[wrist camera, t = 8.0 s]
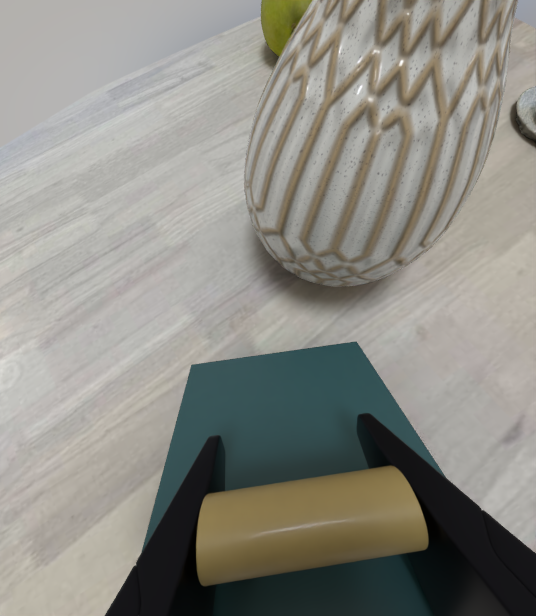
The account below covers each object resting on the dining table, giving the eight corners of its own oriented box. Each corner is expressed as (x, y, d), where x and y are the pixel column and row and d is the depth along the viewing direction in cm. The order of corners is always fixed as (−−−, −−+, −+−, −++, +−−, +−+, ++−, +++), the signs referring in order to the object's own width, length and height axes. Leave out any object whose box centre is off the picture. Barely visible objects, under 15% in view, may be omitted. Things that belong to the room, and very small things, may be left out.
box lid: (526, 626, 6) (643, 590, 4) (116, 697, 6) (-1, 700, 4) (355, 350, 15) (362, 294, 13) (194, 373, 15) (174, 320, 13)
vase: (222, 243, 26) (74, -167, 6) (315, 160, 29) (396, -269, 10) (338, 341, 22) (766, 74, 3) (429, 234, 25) (900, -214, 6)
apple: (274, 80, 34) (275, -8, 26) (253, 45, 36) (248, -44, 29) (323, 67, 34) (338, -23, 27) (299, 33, 37) (306, -56, 30)
